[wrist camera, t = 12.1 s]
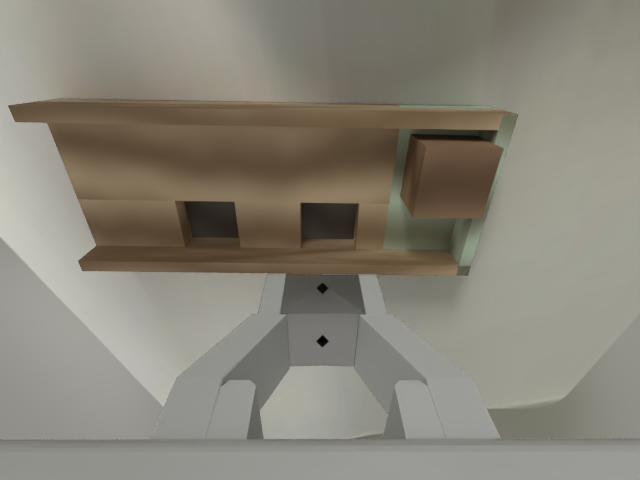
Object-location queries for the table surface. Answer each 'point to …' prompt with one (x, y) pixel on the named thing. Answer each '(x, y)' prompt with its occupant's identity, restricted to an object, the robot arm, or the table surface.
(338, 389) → the table surface
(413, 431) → the robot arm
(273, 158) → the trap lane
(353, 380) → the table surface
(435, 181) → the walnut block
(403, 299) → the table surface
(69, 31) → the table surface
